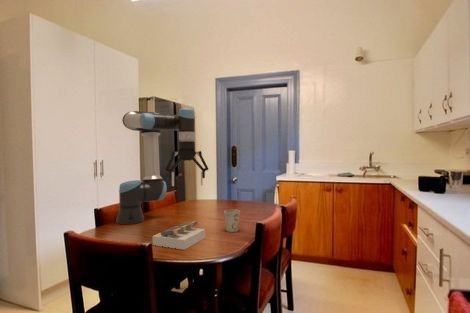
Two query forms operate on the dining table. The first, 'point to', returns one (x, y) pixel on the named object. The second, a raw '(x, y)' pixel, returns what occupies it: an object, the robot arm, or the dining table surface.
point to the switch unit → (180, 238)
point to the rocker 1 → (172, 231)
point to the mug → (232, 219)
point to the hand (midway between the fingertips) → (187, 185)
